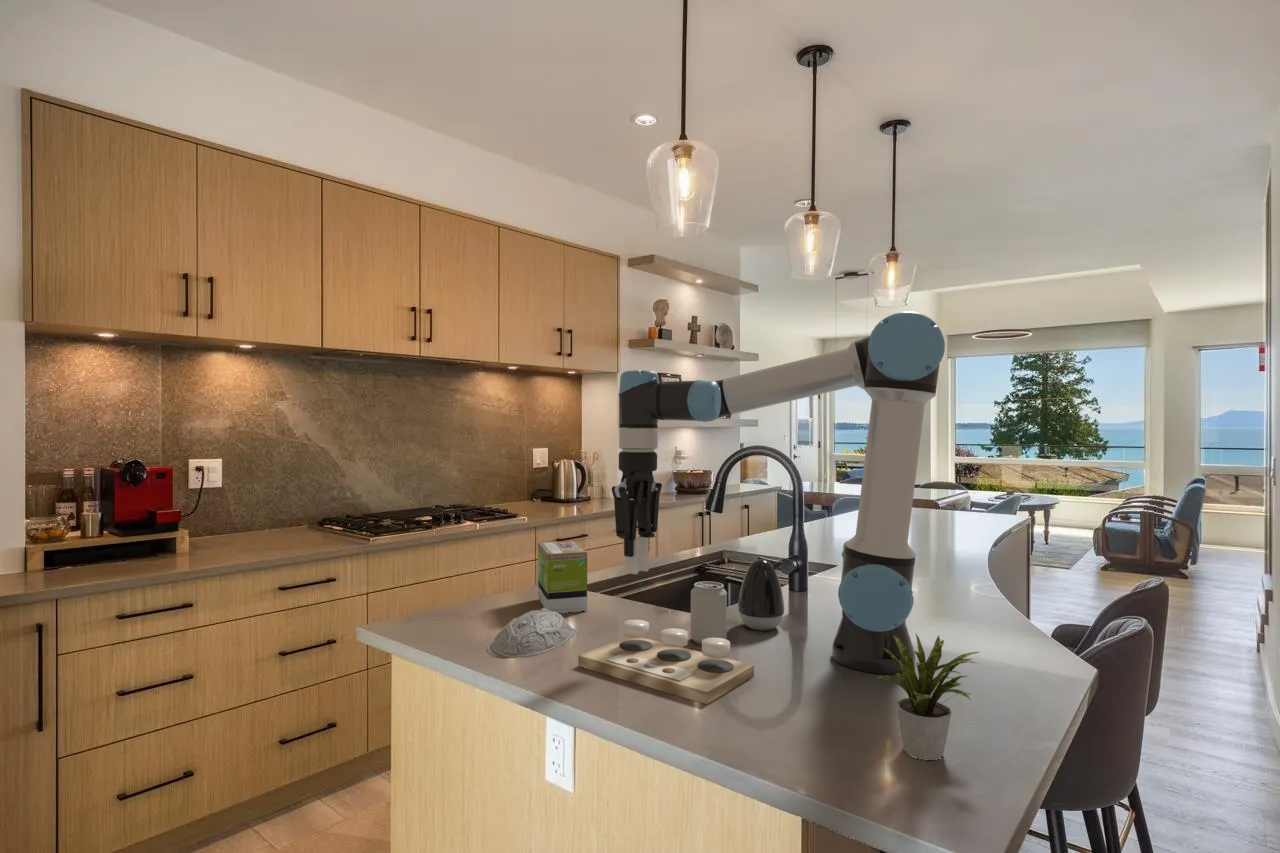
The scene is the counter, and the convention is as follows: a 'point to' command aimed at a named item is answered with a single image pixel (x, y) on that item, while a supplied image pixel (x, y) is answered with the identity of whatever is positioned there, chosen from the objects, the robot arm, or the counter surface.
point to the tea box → (562, 576)
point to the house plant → (925, 699)
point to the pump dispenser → (761, 596)
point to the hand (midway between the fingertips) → (636, 571)
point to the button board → (668, 668)
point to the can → (708, 611)
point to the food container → (532, 634)
